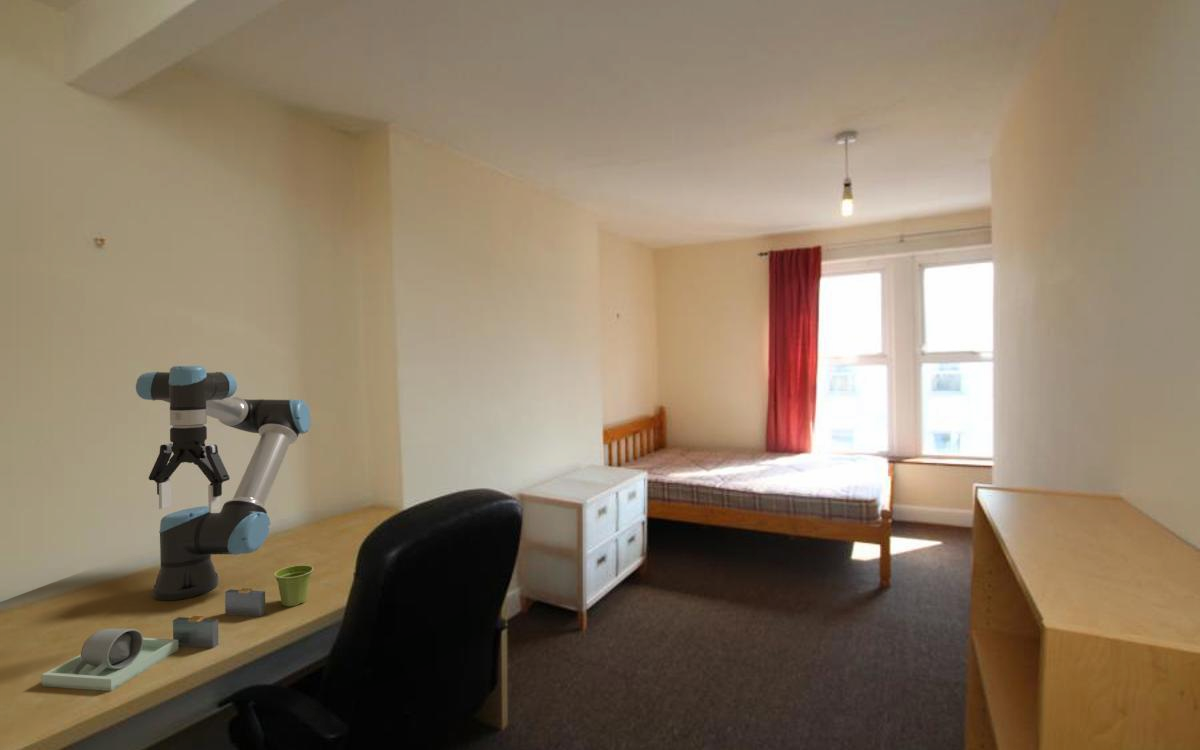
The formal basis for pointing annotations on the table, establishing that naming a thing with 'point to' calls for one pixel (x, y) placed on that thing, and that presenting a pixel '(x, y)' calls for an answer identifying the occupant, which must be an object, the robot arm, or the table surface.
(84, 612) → the table surface
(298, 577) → the plant pot
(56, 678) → the tray
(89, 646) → the ceramic mug
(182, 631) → the grey cases
